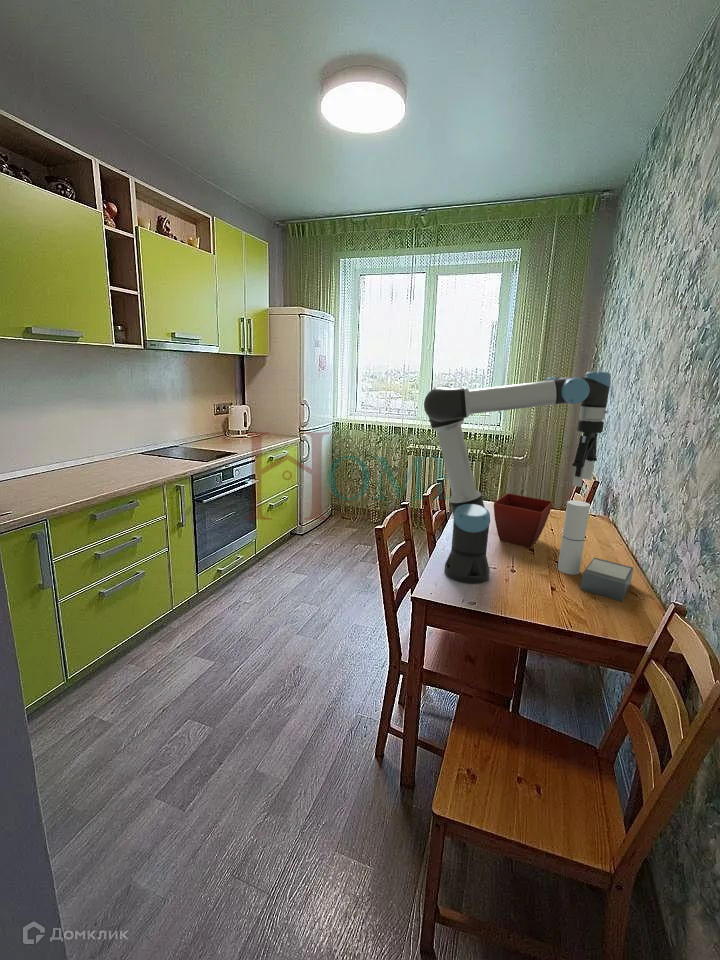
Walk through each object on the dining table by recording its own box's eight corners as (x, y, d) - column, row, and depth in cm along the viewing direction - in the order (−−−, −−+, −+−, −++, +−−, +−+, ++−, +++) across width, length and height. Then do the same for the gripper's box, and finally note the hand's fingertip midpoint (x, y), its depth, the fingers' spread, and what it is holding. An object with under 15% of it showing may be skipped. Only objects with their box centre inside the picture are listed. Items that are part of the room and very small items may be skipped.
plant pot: (536, 553, 173) (542, 512, 169) (488, 541, 184) (492, 502, 180) (548, 539, 189) (553, 501, 185) (503, 529, 199) (507, 493, 195)
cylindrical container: (559, 573, 156) (569, 505, 150) (555, 564, 163) (565, 499, 157) (581, 575, 155) (592, 507, 149) (576, 567, 161) (587, 501, 155)
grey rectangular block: (621, 601, 137) (625, 582, 136) (580, 589, 145) (583, 571, 143) (630, 584, 149) (633, 566, 148) (591, 573, 157) (594, 556, 155)
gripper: (595, 423, 134) (585, 491, 139) (611, 418, 153) (602, 478, 158) (569, 421, 139) (559, 486, 144) (588, 416, 158) (579, 474, 163)
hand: (581, 482), depth 151 cm, fingers open, 13 cm apart
